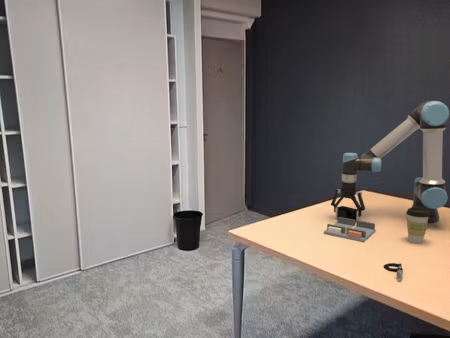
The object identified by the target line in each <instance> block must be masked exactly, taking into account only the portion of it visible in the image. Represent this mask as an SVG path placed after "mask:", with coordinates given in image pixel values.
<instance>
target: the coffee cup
mask: <svg viewBox="0 0 450 338" xmlns="http://www.w3.org/2000/svg"><path fill="white" fill-rule="evenodd" d="M429 216H430V214H429V212H428V210H426V209H422V208H411V207H409V208H408V209H407V210H406V225H407V226H406V227H407V234H408V235H407V239H408V242H411V243H414V244H422V243H423V242H424V238H425V235H426V231H427V226H428V223H429V222H428V217H429Z"/></svg>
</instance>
